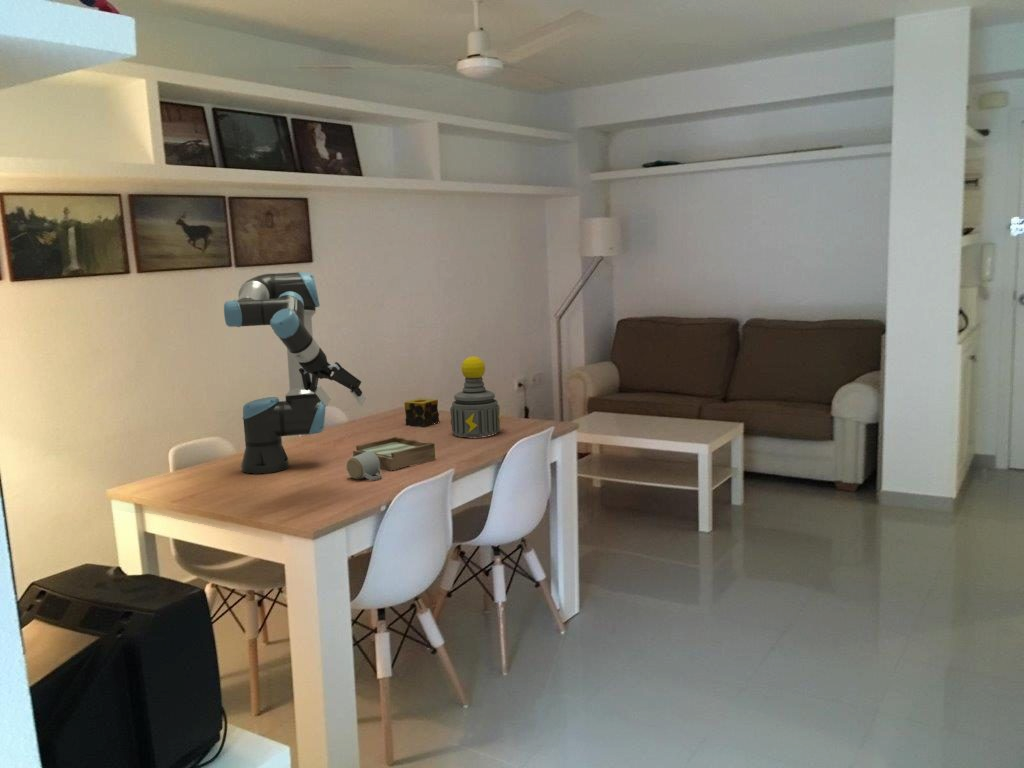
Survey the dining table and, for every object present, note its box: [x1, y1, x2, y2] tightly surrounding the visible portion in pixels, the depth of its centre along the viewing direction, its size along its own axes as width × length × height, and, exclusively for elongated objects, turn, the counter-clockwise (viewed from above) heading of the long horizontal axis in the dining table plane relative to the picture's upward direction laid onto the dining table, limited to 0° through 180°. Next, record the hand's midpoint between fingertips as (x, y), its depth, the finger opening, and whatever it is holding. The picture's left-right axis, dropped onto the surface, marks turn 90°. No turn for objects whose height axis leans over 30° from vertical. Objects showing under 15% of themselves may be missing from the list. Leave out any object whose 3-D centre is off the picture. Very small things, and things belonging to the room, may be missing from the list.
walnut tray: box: [352, 436, 436, 472], centre depth 284 cm, size 20×19×6 cm
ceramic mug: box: [346, 451, 383, 481], centre depth 264 cm, size 11×8×8 cm
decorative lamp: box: [449, 355, 501, 438], centre depth 322 cm, size 19×19×30 cm
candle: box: [403, 398, 440, 428], centre depth 346 cm, size 10×10×10 cm
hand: (345, 402), depth 257 cm, fingers open, 13 cm apart
